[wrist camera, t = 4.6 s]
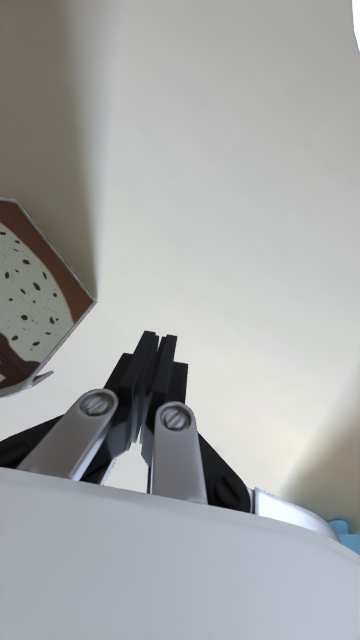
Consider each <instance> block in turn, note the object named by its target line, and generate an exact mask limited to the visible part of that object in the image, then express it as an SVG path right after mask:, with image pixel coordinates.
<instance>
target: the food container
mask: <svg viewBox="0 0 360 640" xmlns="http://www.w3.org/2000/svg"><path fill="white" fill-rule="evenodd" d="M96 303H97V302H96V300H95V299H94V298H93V297H92V295H91V294H90V293H89V291H88V290H87V289H86V288H85V286H84V285H83V284H82V282H81V281H80V280H79V279H78V277H77V276H76V275H75V273H74V272H73V271H72V270H71V268H70V267H69V266H68V264H67V263H66V262H65V261H64V259H63V258H62V257H61V255H60V254H59V253H58V252H57V250H56V249H55V248H54V246H53V245H52V244H51V243H50V241H49V240H48V239H47V237H46V236H45V235H44V234H43V232H42V231H41V230H40V228H39V227H38V226H37V225H36V223H35V222H34V221H33V219H32V218H31V217H30V216H29V214H28V213H27V212H26V210H25V209H24V208H23V207H22V205H21V204H20V203H19V201H18V200H17V199H12V198H7V197H2V196H0V398H4V397H9V396H12V395H14V394H17V393H19V392H21V391H23V390H26V389H28V388H31V387H33V386H35V385H36V384H38V383H39V382H41V381H42V380H44V379H45V378H47V377H48V376H50V375H51V374H53V373H54V372H53V371H50V372H47V373H45V374H42V375H39V376H36V375H37V374H38V373H39V372H40V371H41V369H42V368H43V367H44V366H45V365H46V363H47V362H48V361H49V360H50V359H51V357H52V356H53V355H54V354H55V353H56V351H57V350H58V349H59V348H60V347H61V345H62V344H63V343H64V342H65V340H66V339H67V338H68V337H69V336H70V334H71V333H72V332H73V331H74V330H75V328H76V327H77V326H78V325H79V324H80V322H81V321H82V320H83V319H84V318H85V316H86V315H87V314H88V313H89V312H90V310H91V309H92V308H93V307H94V305H95V304H96Z"/></svg>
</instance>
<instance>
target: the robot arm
mask: <svg viewBox="0 0 360 640" xmlns="http://www.w3.org/2000/svg"><path fill="white" fill-rule="evenodd" d="M352 7H353V20H354V31H355V35H356V39H357V43H358V46H359V50H360V0H352ZM176 342H177V336H174V335H168V334H167V336H166V337H163V336H162V339H161V342H160V345H159V348H158V343H159V336H157V335H156V332H151V331H144V333H143V335H142V337H141V339H140V341H139V343H138V345H137V347H136V349H135V351H134V353H133V354H128V353H123V354H122V356H121V358H120V360H119V361H118V363H117V365H116V367H115V368H114V370H113V372H112V374H111V375H110V377H109V379H108V381H107V382H106V384H105V386H104V388H103V389H94V390H90V391H88V392H86V393H84V394H83V395H82V396H81V397H80V398H79V399H78V400H77V401H76V402H75V403H74V404H73V405H72V406H71V408H70V409H69V410H68V411H67V412H66V413H65V414H63V415H61V416H58V417H56V418H54V419H51V420H49V421H46V422H44V423H42V424H39V425H37V426H34V427H32V428H30V429H27V430H25V431H22V432H20V433H18V434H15V435H13V436H10V437H8V438H6V439H4V440H2V441H1V442H0V640H360V555H358V554H357V553H355V552H354V551H352V550H351V549H349V548H347V547H345V546H344V545H342V544H341V542H340V539H339V537H338V536H337V534H336V533H335V531H334V530H333V528H332V527H331V526H330V525H329V524H328V523H327V522H326V521H325V520H324V519H323V518H322V517H320V516H318V515H317V514H315V513H313V512H311V511H309V510H306V509H304V508H302V507H299V506H297V505H295V504H293V503H290V502H288V501H286V500H283V499H281V498H279V497H277V496H274V495H272V494H270V493H267V492H265V491H263V490H261V489H258V488H256V487H255V489H254V490H252V489H250V488H248V487H246V485H245V484H244V483H243V481H242V480H241V479H240V477H239V476H238V475H237V474H236V473H235V472H234V471H233V470H232V469H231V468H230V467H229V465H228V464H227V463H226V462H225V461H224V460H223V459H222V458H221V457H220V456H219V454H218V453H217V452H216V451H215V450H214V449H213V448H212V447H211V446H210V445H209V444H208V442H207V441H206V440H205V439H204V438H203V437H202V436H201V435H200V434H199V433H198V431H197V426H196V419H195V416H194V413H193V411H192V410H191V409H190V408H189V407H188V406H187V405H185V397H186V385H187V373H188V364H185V363H180V362H174V361H173V360H174V354H175V348H176ZM140 427H141V434H140V444H142V451H141V455H142V457H143V459H144V460H145V462H146V463H147V465H148V473H147V488H146V493H141V492H136V491H130V490H125V489H119V488H114V487H109V486H104V484H105V482H106V480H107V478H108V476H109V474H110V472H111V470H112V468H113V466H114V464H115V461H116V457H118V456H119V455H121V454H122V453H124V452H125V450H126V451H129V448H130V445H131V443H136V441H137V438H138V434H139V431H140Z"/></svg>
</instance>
